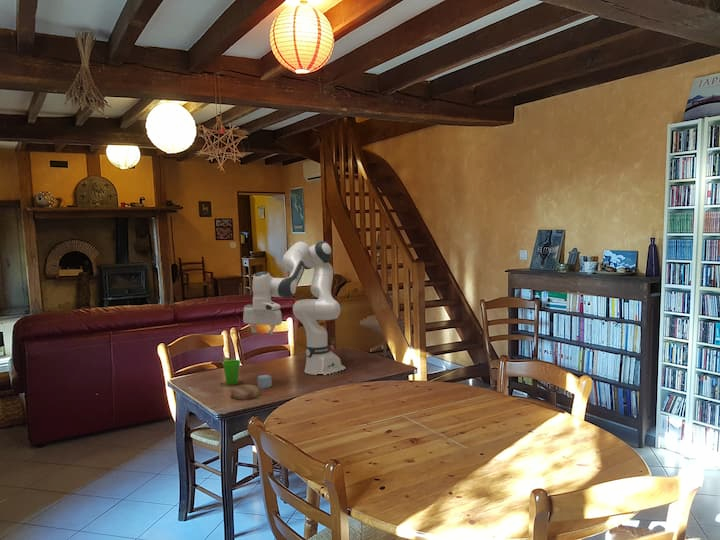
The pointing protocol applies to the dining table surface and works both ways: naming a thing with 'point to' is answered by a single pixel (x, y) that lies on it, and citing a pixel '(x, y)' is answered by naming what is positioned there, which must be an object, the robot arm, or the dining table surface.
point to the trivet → (245, 392)
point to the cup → (231, 371)
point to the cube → (264, 381)
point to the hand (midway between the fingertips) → (262, 333)
